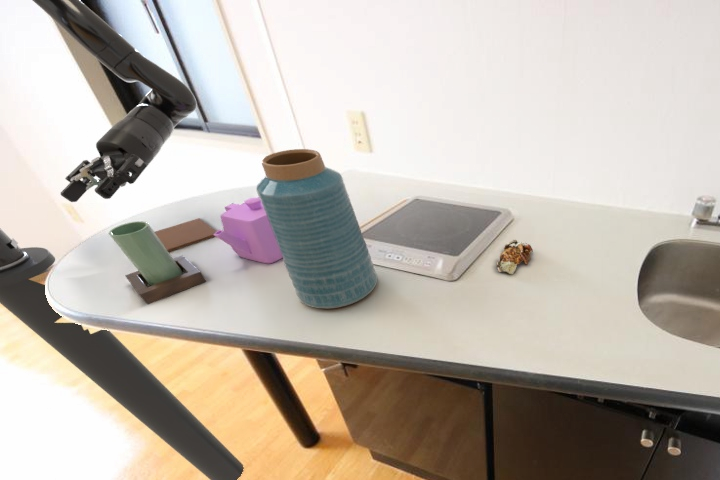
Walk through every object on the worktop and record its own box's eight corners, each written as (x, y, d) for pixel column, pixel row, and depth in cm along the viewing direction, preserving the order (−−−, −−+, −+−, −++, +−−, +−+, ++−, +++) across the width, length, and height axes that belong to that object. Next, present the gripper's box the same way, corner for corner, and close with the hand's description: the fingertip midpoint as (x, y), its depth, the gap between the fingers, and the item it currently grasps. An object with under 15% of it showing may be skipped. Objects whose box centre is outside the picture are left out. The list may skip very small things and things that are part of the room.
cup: (157, 294, 77) (113, 238, 68) (149, 284, 79) (105, 229, 71) (190, 282, 80) (152, 227, 71) (181, 272, 83) (143, 218, 74)
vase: (366, 312, 72) (320, 174, 54) (285, 312, 72) (212, 173, 54) (386, 268, 84) (355, 142, 66) (317, 267, 84) (266, 142, 66)
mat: (158, 255, 88) (156, 253, 88) (141, 238, 95) (140, 236, 95) (219, 234, 96) (218, 232, 96) (200, 220, 103) (199, 218, 103)
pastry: (492, 271, 82) (491, 258, 80) (507, 246, 91) (507, 233, 88) (521, 277, 81) (522, 263, 78) (534, 251, 89) (535, 237, 87)
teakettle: (308, 227, 99) (290, 181, 91) (312, 256, 88) (292, 206, 80) (238, 240, 94) (212, 193, 86) (234, 272, 83) (203, 221, 74)
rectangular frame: (147, 304, 74) (139, 294, 72) (132, 284, 79) (124, 275, 78) (206, 281, 80) (200, 271, 79) (189, 264, 85) (182, 255, 84)
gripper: (86, 131, 76) (31, 183, 68) (140, 124, 73) (90, 177, 65) (124, 163, 82) (78, 214, 74) (175, 157, 79) (133, 209, 72)
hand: (84, 196), depth 70 cm, fingers open, 8 cm apart
